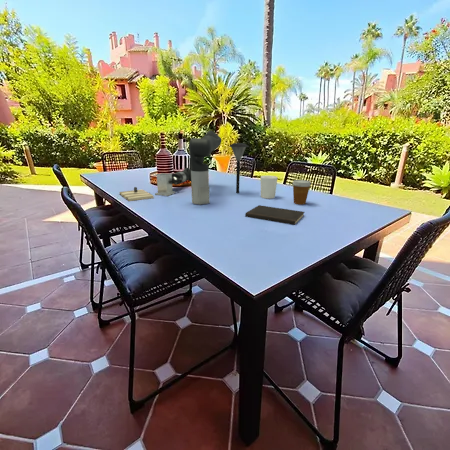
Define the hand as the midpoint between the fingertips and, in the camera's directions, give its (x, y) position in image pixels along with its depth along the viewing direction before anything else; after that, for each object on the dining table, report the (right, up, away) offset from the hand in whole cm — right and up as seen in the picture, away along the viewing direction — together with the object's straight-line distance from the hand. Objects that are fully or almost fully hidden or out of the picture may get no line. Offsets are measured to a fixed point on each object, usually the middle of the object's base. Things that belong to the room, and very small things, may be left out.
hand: (165, 182), depth 165 cm
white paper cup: (+62, -10, -5) cm, 63 cm away
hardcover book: (+59, -23, -40) cm, 75 cm away
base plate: (-16, -9, -5) cm, 19 cm away
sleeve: (0, -7, +1) cm, 7 cm away
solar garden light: (+44, -6, +5) cm, 45 cm away
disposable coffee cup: (+77, -15, -18) cm, 80 cm away
